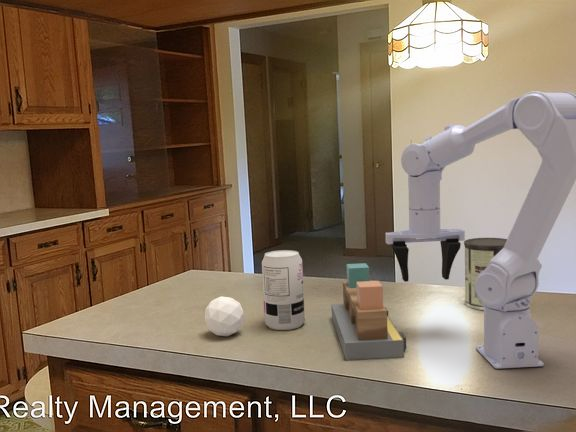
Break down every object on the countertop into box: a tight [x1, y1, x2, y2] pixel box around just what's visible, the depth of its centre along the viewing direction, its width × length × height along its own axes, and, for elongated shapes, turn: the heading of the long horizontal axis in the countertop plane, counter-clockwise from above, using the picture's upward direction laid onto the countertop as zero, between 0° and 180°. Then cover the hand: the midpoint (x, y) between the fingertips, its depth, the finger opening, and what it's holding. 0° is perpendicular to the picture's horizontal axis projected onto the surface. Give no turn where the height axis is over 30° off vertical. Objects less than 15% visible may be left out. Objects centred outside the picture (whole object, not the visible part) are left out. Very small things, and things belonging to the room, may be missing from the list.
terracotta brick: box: [356, 280, 384, 310], centre depth 104 cm, size 4×4×4 cm
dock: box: [330, 303, 407, 361], centre depth 113 cm, size 24×11×3 cm, turn 1°
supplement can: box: [261, 249, 306, 331], centre depth 121 cm, size 8×8×15 cm
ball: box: [204, 295, 245, 337], centre depth 117 cm, size 8×8×8 cm
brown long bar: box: [342, 280, 388, 341], centre depth 112 cm, size 22×5×5 cm, turn 1°
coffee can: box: [463, 237, 508, 311], centre depth 129 cm, size 10×10×14 cm
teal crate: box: [346, 262, 370, 288], centre depth 119 cm, size 4×4×4 cm
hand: (425, 279), depth 112 cm, fingers open, 7 cm apart
